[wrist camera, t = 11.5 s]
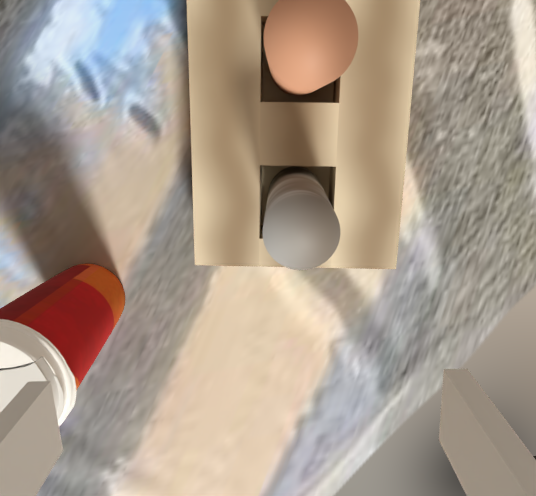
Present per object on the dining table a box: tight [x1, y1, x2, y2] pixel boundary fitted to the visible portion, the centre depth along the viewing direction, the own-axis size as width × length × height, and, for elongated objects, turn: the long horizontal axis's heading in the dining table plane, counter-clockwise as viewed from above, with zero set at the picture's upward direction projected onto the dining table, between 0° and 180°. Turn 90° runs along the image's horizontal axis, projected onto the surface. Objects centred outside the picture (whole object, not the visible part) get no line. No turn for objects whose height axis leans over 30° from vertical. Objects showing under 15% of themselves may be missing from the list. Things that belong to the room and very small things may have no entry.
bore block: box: [187, 0, 420, 270], centre depth 31 cm, size 14×18×14 cm
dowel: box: [264, 0, 358, 96], centre depth 27 cm, size 4×4×14 cm
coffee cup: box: [0, 264, 125, 426], centre depth 34 cm, size 8×8×15 cm
